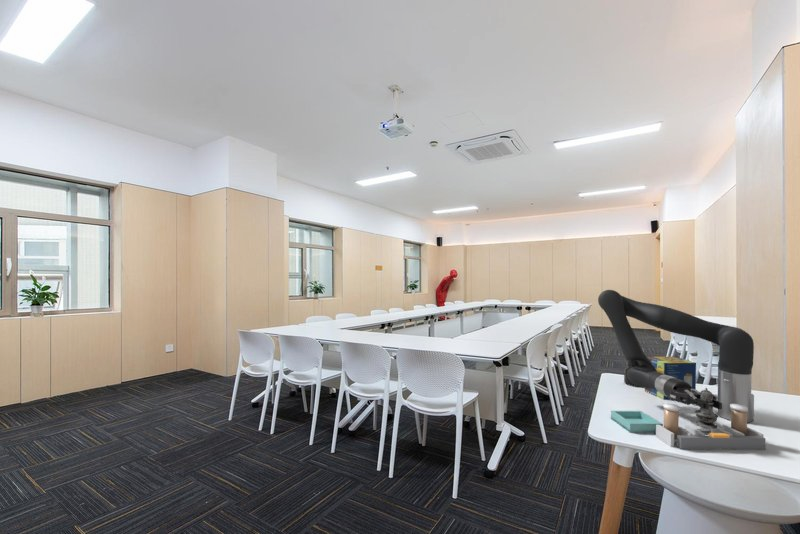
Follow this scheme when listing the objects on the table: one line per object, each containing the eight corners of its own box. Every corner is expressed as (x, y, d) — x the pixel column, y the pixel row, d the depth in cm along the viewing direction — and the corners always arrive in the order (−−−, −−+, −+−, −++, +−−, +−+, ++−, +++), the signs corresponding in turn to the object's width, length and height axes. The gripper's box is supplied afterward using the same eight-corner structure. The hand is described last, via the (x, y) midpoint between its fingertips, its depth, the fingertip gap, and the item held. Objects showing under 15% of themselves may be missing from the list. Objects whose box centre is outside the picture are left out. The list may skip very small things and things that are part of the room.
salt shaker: (720, 430, 114) (720, 391, 114) (696, 426, 117) (696, 388, 117) (716, 423, 119) (716, 386, 118) (693, 419, 122) (693, 383, 122)
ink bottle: (640, 381, 178) (641, 357, 178) (651, 387, 169) (651, 361, 169) (619, 381, 179) (620, 356, 179) (629, 386, 170) (629, 361, 170)
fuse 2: (739, 437, 120) (739, 403, 120) (751, 443, 116) (751, 408, 116) (726, 437, 120) (726, 403, 120) (738, 443, 116) (738, 408, 116)
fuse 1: (672, 436, 120) (672, 403, 120) (682, 443, 116) (682, 408, 116) (659, 436, 120) (660, 403, 120) (669, 442, 116) (669, 408, 116)
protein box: (644, 391, 164) (644, 356, 164) (675, 390, 166) (675, 356, 166) (663, 399, 154) (663, 362, 154) (696, 398, 156) (697, 362, 156)
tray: (640, 419, 134) (640, 410, 134) (662, 432, 123) (662, 423, 123) (610, 418, 134) (610, 410, 134) (629, 432, 123) (630, 423, 123)
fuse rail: (732, 432, 124) (732, 419, 124) (768, 449, 112) (768, 435, 112) (647, 431, 124) (647, 418, 124) (674, 449, 112) (674, 435, 112)
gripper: (653, 377, 132) (691, 394, 115) (692, 377, 132) (736, 394, 115) (653, 398, 132) (691, 418, 115) (692, 398, 132) (736, 418, 115)
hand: (714, 406), depth 115 cm, fingers closed on salt shaker, 3 cm apart
